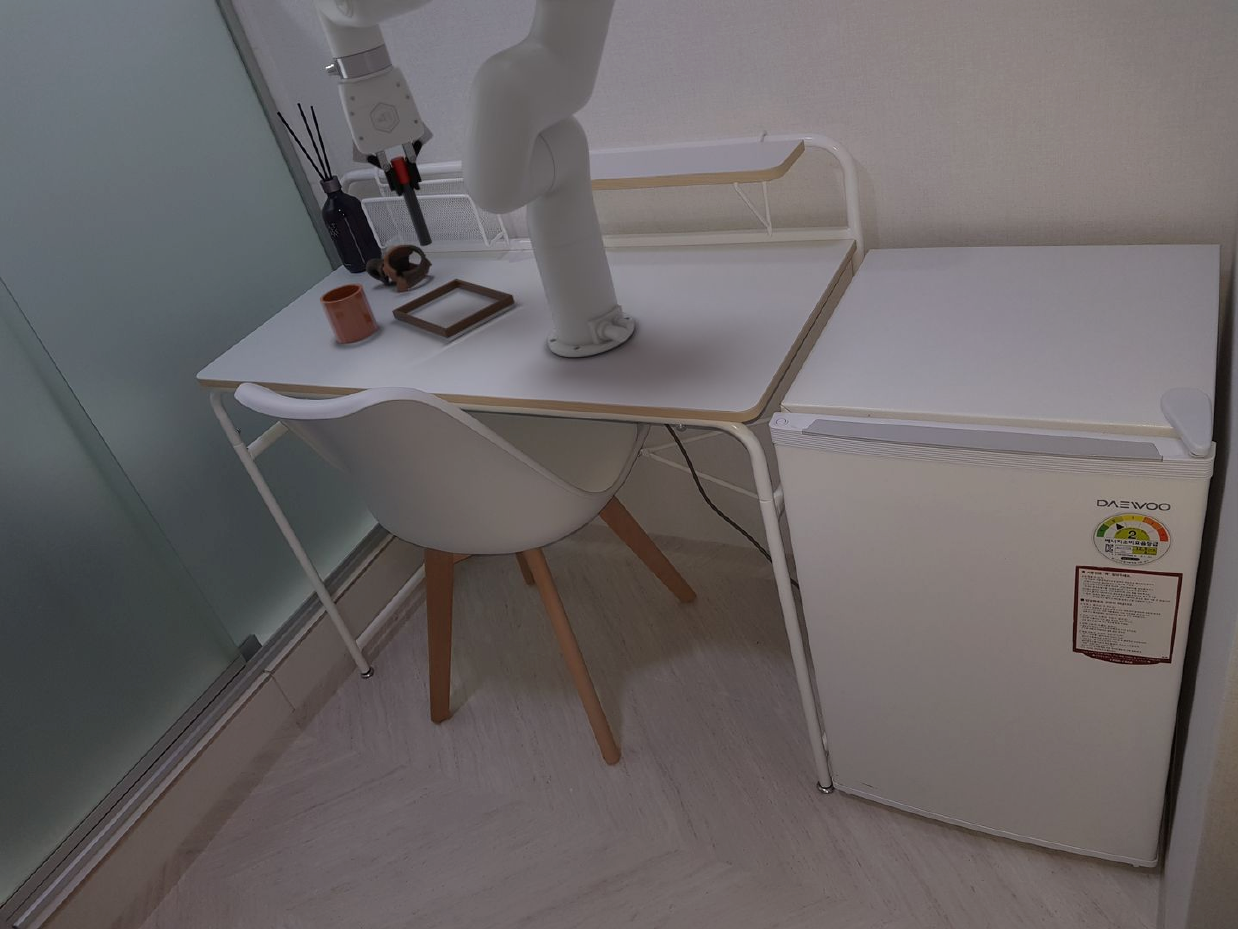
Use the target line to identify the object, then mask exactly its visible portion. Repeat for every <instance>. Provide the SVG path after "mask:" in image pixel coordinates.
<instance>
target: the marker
mask: <svg viewBox="0 0 1238 929" xmlns="http://www.w3.org/2000/svg"><path fill="white" fill-rule="evenodd" d="M389 162H390V165H391V166H392V168H393V169H394V170H395V172H396V175H397V178H398V181H399V184H400V187H401V190H402V192H403V194H402V197H403V200H404V202H405V205H406V208H407V212H408V214H409V217H410V219H411V222H412V225H413V228H414V231H415V234H416V236H417V240H418V243H419V245H420V247H427V246H429V245H431V244H433V239H432V238H431V234H430V231H429V229H428V226H427V223H426V220H425V217H424V214H423V211H422V208H421V205H420V202H419V199H418V197H417V194H416V190H415V189H414V188H413V185H412V182H411V177H410V174H409V171H408V168H407V166H406V162H405V156H403V155H401V156H396V157H393V158H392V159H390V160H389Z"/></svg>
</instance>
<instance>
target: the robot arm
mask: <svg viewBox="0 0 1238 929" xmlns="http://www.w3.org/2000/svg"><path fill="white" fill-rule="evenodd" d="M431 2H433V0H312V4H313V6H314V9H315V11H316V14H317V17H318V20H319V23H320V25H321V28H322V31H323V34H324V36H325V39H326V41H327V45H328V47H329V50H330V52H331V56H332V59H333V60H332V61H331V63H330V64H329V65H326V66H325V70H326V72H327V76H328V77H332V76H337V77H339V78H340V81H338V82H337V87H338V88H337V89H338V94H339V98H340V101H341V105H342V110H343V113H344V117H345V120H346V124H347V126H348V129H349V133H350V136H351V138H352V140H351V141H352V142H351V159H352V161H353V162H355V163H362V164H363V163H364V164H369V165H371V166H374V167H376V168H378V169H379V170H381V171H383V173H384V176H385V179H386V182H387V184H388V188H389V190H390V192H395V194H396V195H397V196H398V197H403V192H402V190H401V187H400V184H399V181H398V178H397V175H396V172H395V170H394V169H393V168H392V165H391V162H390V163H389V160H388V156H387V154H386V150H388V149H391V148H396V147H398V146H401V148H402V150H403V154H404V155H405V156H404V159H405V162H406V166H407V168H408V171H409V174H410V177H411V182H412V185H413V188H414V191H421V187H420V183H422V182H423V180H422V176H421V174H420V170H419V168H418V165H417V160H418V156H419V155H420V152H421V150H422V148H423V146H424V145H426V144H427V143H429V141H430V140H432V139H433V136H434V134H433V132H432V131H431V130H430V128H428V126H427V125H426V124H425V123H424V121H422V118H421V115H420V112H419V109H418V107H417V104H416V101H415V98H414V96H413V94H412V91H411V89H410V87H409V84H408V82H407V80H406V77H405V75H404V74H403V71H402V70H401V68H400V66H398V65H393V62H392V60H391V56H390V54H389V50H388V48H387V44H386V42H385V39H384V36H383V32H382V29H381V26H380V24H381V23H384V22H387V21H390V20H391V19H394V18H397V17H400V16H403V15H406V14H408V13H412V12H414V11H417V10H420V9H422V8H424V7H425V6H427V5H429V4H430V3H431ZM615 3H616V0H535V6H534V13H533V18H532V22H531V25H530V29H529V32H528V34H527V35H526V36H525V38H523V39H522V40H521V41H519V43H517V44H514V45H512V46H509V47H507V48H505V49H503V50H500V51H498V52H497V53H494V54H493V55H491V56H490V57H488V58H487V59H486V60H485V61H483V63H482V64H481V65H480V67H479V68H478V70H477V72H476V73H475V75H474V78H473V79H472V83H471V87H470V91H469V97H468V103H467V110H466V111H467V112H466V119H465V126H464V133H463V142H462V149H461V150H462V151H461V175H462V181H463V183H464V184H463V185H464V186H465V189H466V192H467V194H468V195H469V197H470V199H471V200H472V202H473V203H474V204H475V205H476V206H477V207H478V208H480V210H482V211H484V212H486V213H489V214H493V215H505V214H509V213H512V212H515V211H517V210H519V209H521V208H523V207H525V206H526V208H525V209H526V210H525V219H526V228H527V233H528V237H529V241H530V243H531V248H532V251H533V255H534V258H535V263H536V266H537V269H538V273H539V276H540V280H541V283H542V287H543V290H544V293H545V297H546V300H547V304H548V307H549V312H550V314H551V318H552V322H553V325H554V328H553V329H552V330H551V332H550V333H549V334H548V336H547V344H548V348H549V349H550V351H551V352H553V354H556V355H558V356H561V357H565V358H566V357H567V358H568V357H569V358H581V357H589V356H593V355H597V354H598V355H599V354H601V353H604V352H607V351H609V350H612V349H615V348H616V347H617V346H619V345H621V344H623V343H625V342H626V341H627V340H628V339H629V338H630V336H632V334H633V332H634V330H635V322H634V319H633V317H632V316H631V315H630V314H629V313H628V312H626V311H623V307H622V305H619V302H618V298H617V293H616V291H615V286H614V285H615V284H614V282H613V277H612V273H611V269H610V265H609V261H608V257H607V256H608V255H607V252H606V248H605V243H604V240H603V235H602V230H601V227H600V223H599V218H598V214H597V209H596V204H595V200H594V199H595V198H594V194H593V188H592V179H591V163H590V162H591V161H590V148H589V142H588V138H587V135H586V132H585V130H584V127H583V126H582V124H581V123H580V121H579V120H578V119H577V117H575V114H576V113H578V112H579V111H581V110H582V109H584V107H585V106H587V104H588V103H589V101H590V100H591V97H592V96H593V92H594V88H595V85H596V81H597V77H598V73H599V69H600V65H601V61H602V57H603V53H604V48H605V44H606V41H607V37H608V33H609V29H610V22H611V18H612V13H613V9H614V6H615Z"/></svg>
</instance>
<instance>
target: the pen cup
mask: <svg viewBox="0 0 1238 929" xmlns="http://www.w3.org/2000/svg"><path fill="white" fill-rule="evenodd" d="M364 289H365V288H364V287H363V284H361V283H348V284H343V285H339V286H337V287H334V288H333V289H330V290H328V291H327V292H325V293H324V294H322V296H320V298H319V303H320V304H321V307H322V309H323V312H324V314H325V316H326V318H327V321H328V324H329V326H330V328H331V330H332V332H333V334H334V337H335V339H336V341H337V342H338V343H340V344H352V343H357V342H360V341H363V340H365V339H367V338H369V337H371V336H372V335H374V334H375V333H376V332H377V331H378V330H379V325H378V322H377V319H376V316H375V315H374V312H373V309H372V307H371V305H370V304H371V303H370V301H369V298H368V297H367V294H366V292H365V290H364Z"/></svg>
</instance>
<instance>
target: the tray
mask: <svg viewBox="0 0 1238 929" xmlns="http://www.w3.org/2000/svg"><path fill="white" fill-rule="evenodd" d="M456 289H461V290H465V291H466V292H467V291H468V292H471V293H474V294H478V295H480V296H484V297H487V298H490V299H494V300H497V301H495V302H493V303H491V304H490V305H488V306H485V307H484V308H482V309H480V310H478V311H476V312H474V313H472V314H469V315H468V316H466V317H464V318H463V319H461V320H459V321H457V322H455V323H454V324H452V325H450V326H447V327H445V326H441V325H438V324H436V323H432V322H430V321H427V320H425V319H422V318H419V317H416V316H413V315H411V314H408V313H411V312H413V311H415V310H417V309H418V308H420V307H422V306H425V305H427V304H429V303H430V302H433V301H435V300H436V299H438V298H440V297H442V296H444V295H446V294H449V293H450V292H451V291H454V290H456ZM513 304H515V299H514V296H513V294H511V293H508V292H504V291H500V290H497V289H493V288H490V287H486V286H483V285H480V284H476V283H473V282H470V281H466V280H462V279H459V278H455V279H453V280H450V281H449V282H447V283H445V284H442V285H441V286H439V287H437V288H435V289H432V290H430V291H429V292H426V293H425V294H423V295H421V296H419V297H416V298H414V299H413V300H411V301H409V302H407V303H405V304H403V305H401V306H399V307H397V308H395V309H392V310H391V312H392V315H393V317H394V319H395V320H398V321H401V322H404V323H407V324H409V325H412V326H414V327H417V328H420V329H421V330H425V331H427V332H430V333H433V334H434V335H438V336H440V337H443V338H446V339H450V338H452V337H453V336H455V335H456V334H458V333H461V332H462V331H464V330H466V329H468V328H470V327H471V326H474V325H476V324H477V323H479V322H481V321H483V320H485V319H487V318H488V317H491V316H492V315H494V314H496V313H498V312H500V311H502V310H503V309H505V308H507V307H510V306H511V305H513ZM516 307H517V306H516V305H515V306H512V307H511V308H510V309H508V310H506V311H504V312H502V313H500V314H499V315H497V316H494V317H493V318H491V319H489V320H487V321H485V322H484V323H482V324H480V325H478V326H476V327H474V328H473V329H471V330H469V331H467V332H465V333H463V334H461V335H459V336H457V337H456V338H453V339H451V340H449V343H451V342H453V341H454V340H456V339H459V338H460V337H462V336H465V335H466V334H468V333H470V332H472V331H473V330H475V329H477V328H479V327H481V326H483V325H484V324H486V323H488V322H490V321H492V320H494V319H495V318H496V319H497V317H499V316H501V315H503V314H505V313H507V312H509V311H511V310H512V309H514V308H516Z"/></svg>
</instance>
